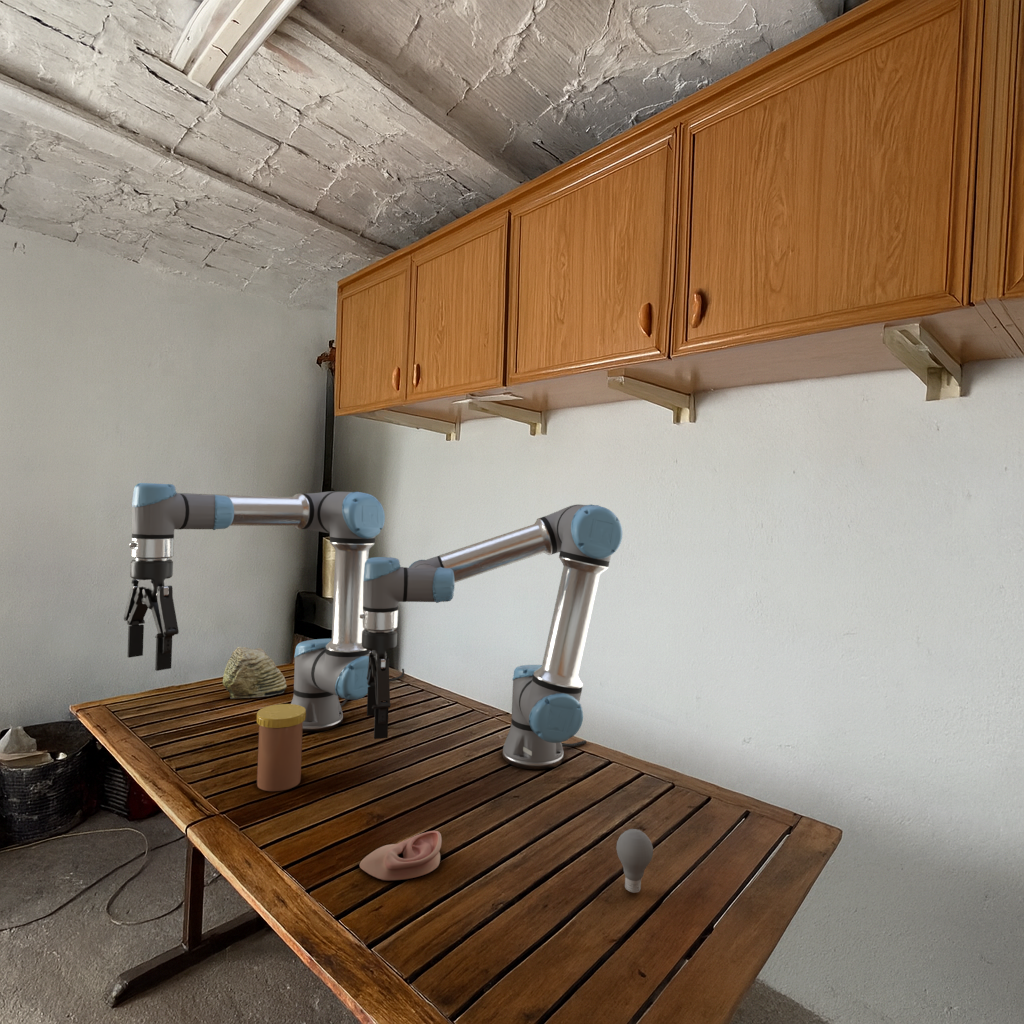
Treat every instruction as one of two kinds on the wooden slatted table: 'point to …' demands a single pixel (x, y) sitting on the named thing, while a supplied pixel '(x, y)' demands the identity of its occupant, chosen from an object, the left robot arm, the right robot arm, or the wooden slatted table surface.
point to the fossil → (252, 674)
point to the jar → (279, 757)
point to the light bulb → (634, 857)
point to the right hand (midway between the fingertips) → (376, 726)
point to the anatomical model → (405, 858)
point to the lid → (281, 715)
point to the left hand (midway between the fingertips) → (148, 662)
